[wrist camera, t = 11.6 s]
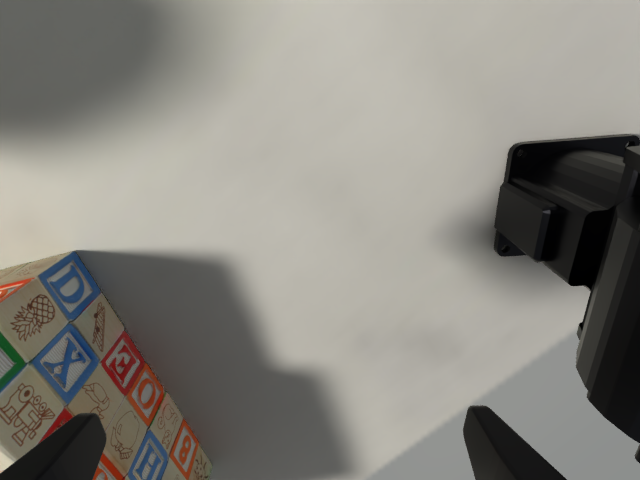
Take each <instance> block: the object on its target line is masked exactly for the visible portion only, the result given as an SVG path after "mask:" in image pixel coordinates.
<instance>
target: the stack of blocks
mask: <svg viewBox="0 0 640 480" xmlns="http://www.w3.org/2000/svg"><path fill="white" fill-rule="evenodd" d="M80 413H96V414H98V416H99V418H100V420H101V423H102V425H103V427H104V430H105V432H106V437H107V439H106V445H105V448H104V451H103V453H102V456H101V459H100V461H99V464H98V467H97V469H96V472H95V475H94V477H93V480H209V477H210V473H211V469H212V464H211V463H210V461H209V459H208V458H207V456H206V455H205V453H204V451H203V450H202V448H201V447H200V445H199V442H198V440H197V439H196V437H195V435H194V434H193V432H192V431H191V429H190V427H189V426H188V424H187V423H186V421H185V420H184V419H183V416H182V415H181V413H180V411H179V410H178V408H177V407H176V405H175V403H174V402H173V400H172V399H171V397H170V396H169V394H168V393H167V392H165V391H164V389H163V387H162V385H161V384H160V383H159V381H158V380H157V378H156V377H155V375H154V374H153V372H152V371H151V369H150V367H149V366H148V364H147V363H145V362H144V359H143V358H142V356H141V355H140V353H139V351H138V350H137V348H136V347H135V345H134V344H133V342H132V341H131V339H130V338H129V336H128V334H127V333H126V332H125V331H124V326H123V325H122V323H121V322H120V320H119V319H118V317H117V315H116V314H115V312H114V311H113V309H112V308H111V306H110V305H109V303H108V301H107V300H106V298H105V297H104V295H103V294H102V293H101V292H100V289H99V287H98V286H97V284H96V283H95V281H94V280H93V278H92V276H91V275H90V273H89V272H88V271H87V269H86V268H85V266H84V264H83V263H82V262H81V260H80V258H79V257H78V255H77V254H76V253H75V251H71V252H68V253H64V254H60V255H57V256H53V257H49V258H46V259H42V260H38V261H34V262H31V263H25V264H21V265H17V266H13V267H10V268H6V269H3V270H0V473H1V472H3V471H4V470H5V469H6V468H8V467H9V466H10V465H12V464H13V463H14V462H15V461H17V460H18V459H19V458H21V457H22V456H23V455H25V454H26V453H27V452H28V451H30V450H31V449H32V448H34V447H35V446H36V445H37V444H39V443H40V442H41V441H43V440H44V439H45V438H47V437H48V436H49V435H50V434H52V433H53V432H54V431H56V430H57V429H58V428H60V427H61V426H62V425H63V424H65V423H66V422H67V421H69V420H70V419H71V418H72V417H74V416H75V415H77V414H80Z"/></svg>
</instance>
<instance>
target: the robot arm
mask: <svg viewBox="0 0 640 480" xmlns="http://www.w3.org/2000/svg"><path fill="white" fill-rule="evenodd" d="M628 141H629V144H628V146H627V147H626V148H625V144H626V143H627V142H628ZM639 145H640V140H639V138H638V137H637V136H633V135H627V134H626V135H613V136H600V137H587V138H574V139H561V140H547V141H534V142H521V143H516V144H514V145H513V146H512V147H511V148H510V149H509V152H508V158H507V164H506V171H505V177H504V183H503V184H502V185H501V186H500V192H499V198H498V205H497V212H496V218H495V225H494V227H495V228H496V236H495V242H494V250H495V252H496V253H497V254H498V255H500V256H519V255H528V256H529V257H530V258H531V259H533V260H534V261H535V262H537V263H538V262H542V263H543V264H544V265H546V266H547V267H548V268H549V269H551V270H552V271H553V272H554V273H556V274H557V275H558V276H559V277H560V278H562V279H563V280H564V281H565V282H567V283H568V284H569V285H570V286H585V287H586V288H587V289H589V290H590V291H591V293H590V297H589V300H588V304H587V308H586V311H585V315H584V319H583V322H582V323H580V324H579V327H578V331H577V336H578V338H579V340H580V342H579V345H578V349H577V357H576V368H577V370H578V372H579V375H580V377H581V379H582V381H583V383H584V385H585V387H586V388H587V390H588V393H587V398H588V400H589V401H590V402H591V403H592V404H593V406H594V407H595V408H596V409H597V410H598V411H599V412H600V413H601V414H602V415H603V416H604V417H605V418H606V419H607V420H609V421H610V422H611V423H612V424H614V425H615V426H616V427H617V428H619V429H620V430H621V431H623V432H624V433H625V434H626V435H628V436H629V437H631V438H632V439H634V440H635V441H637V442H639V443H640V146H639ZM520 149H523V153H522V155H521V156H519V157H517V153H518V151H519V150H520ZM504 245H507V246H506V248H505V249H503V250H501V249H502V247H503V246H504ZM463 435H464V439H465V443H466V447H467V450H468V454H469V458H470V461H471V465H472V468H473V471H474V476H475V479H476V480H567V479H566V478H565V477H563V476H562V475H561V474H560V473H559V472H558V471H557V470H556V469H555V468H554V467H552V465H550V464H549V463H548V462H547V461H546V460H545V459H544V458H543V457H542V456H541V455H540V454H539V453H537V452H536V451H535V450H534V449H533V448H532V447H531V446H530V445H529V444H528V443H526V441H524V440H523V439H522V438H521V437H520V436H519V435H518V434H517V433H516V432H515V431H514V430H513V429H512V428H511V427H509V426H508V425H507V424H506V423H505V422H504V421H503V420H502V419H501V418H500V417H499V416H498V415H496V414H495V413H494V412H493V411H492V410H491V409H490V408H488V407H487V406H483V405H482V406H470V407H469V408H468V410H467V415H466V419H465V423H464V428H463ZM106 439H107V437H106V432H105V430H104V427H103V425H102V423H101V420H100V418H99V416H98V414H96V413H80V414H77V415H75V416H74V417H72V418H71V419H70V420H69V421H67V422H66V423H65V424H63V425H62V426H61V427H60V428H58V429H57V430H56V431H54V432H53V433H52V434H50V435H49V436H48V437H47V438H45V439H44V440H43V441H41V442H40V443H39V444H37V445H36V446H35V447H34V448H32V449H31V450H30V451H28V452H27V453H26V454H25V455H23V456H22V457H21V458H19V459H18V460H17V461H15V462H14V463H13V464H12V465H10V466H9V467H8V468H6V469H5V470H4V471H3V472H1V473H0V480H93V477H94V475H95V472H96V469H97V467H98V464H99V461H100V459H101V456H102V453H103V451H104V448H105V445H106ZM635 459H636V460H637V461H638V462H639V463H640V445H639V447H638V450H637V452H636V454H635Z"/></svg>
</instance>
